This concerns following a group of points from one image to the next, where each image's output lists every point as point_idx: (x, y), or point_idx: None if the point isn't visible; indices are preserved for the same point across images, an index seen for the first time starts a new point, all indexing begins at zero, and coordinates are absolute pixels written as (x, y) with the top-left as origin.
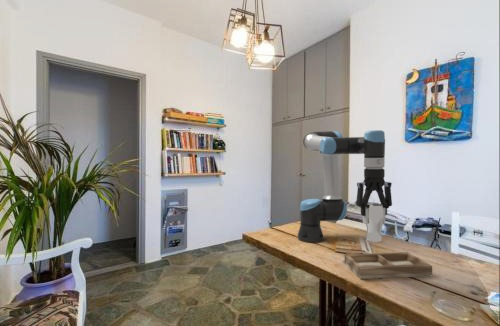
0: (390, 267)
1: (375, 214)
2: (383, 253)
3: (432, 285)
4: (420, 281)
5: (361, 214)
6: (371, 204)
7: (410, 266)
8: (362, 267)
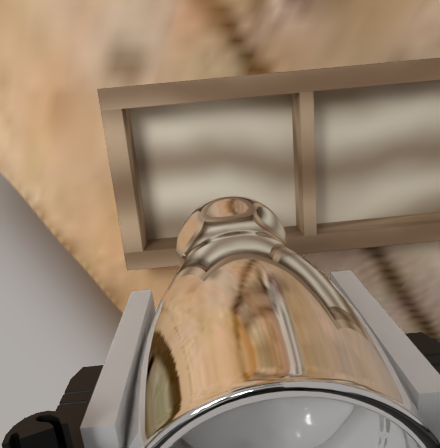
0: None
1: None
2: (349, 72)
3: (398, 294)
4: (376, 266)
5: (77, 387)
6: (304, 360)
7: (383, 245)
8: (142, 258)
